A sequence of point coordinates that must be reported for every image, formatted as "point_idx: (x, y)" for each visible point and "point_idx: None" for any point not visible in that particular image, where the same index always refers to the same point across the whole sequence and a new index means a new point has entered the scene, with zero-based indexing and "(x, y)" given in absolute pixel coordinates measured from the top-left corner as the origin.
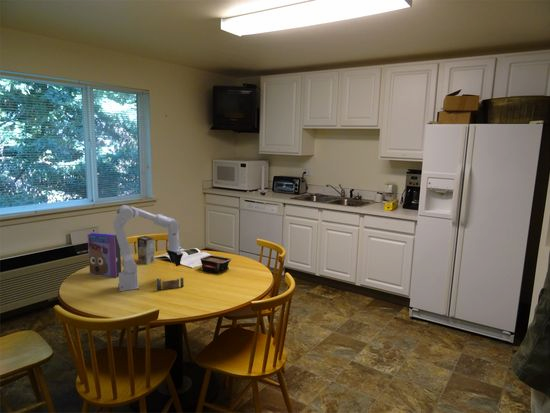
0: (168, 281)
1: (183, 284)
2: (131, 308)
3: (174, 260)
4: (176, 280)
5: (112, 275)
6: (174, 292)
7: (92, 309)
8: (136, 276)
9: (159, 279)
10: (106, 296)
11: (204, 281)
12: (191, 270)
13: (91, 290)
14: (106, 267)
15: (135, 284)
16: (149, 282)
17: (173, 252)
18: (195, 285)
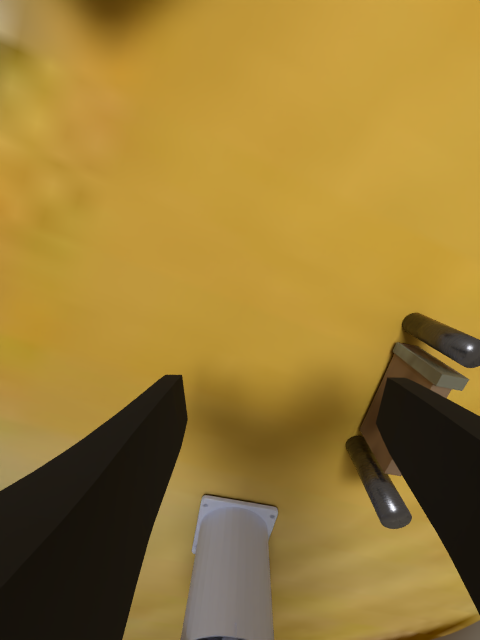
0: None
1: (437, 321)
2: None
3: (175, 392)
4: (448, 393)
5: None
6: (458, 393)
7: (365, 631)
8: (257, 592)
9: (406, 517)
10: (280, 592)
11: (452, 92)
12: (85, 85)
13: None
14: None
15: (263, 538)
16: (213, 448)
17: (58, 635)
18: (468, 221)
